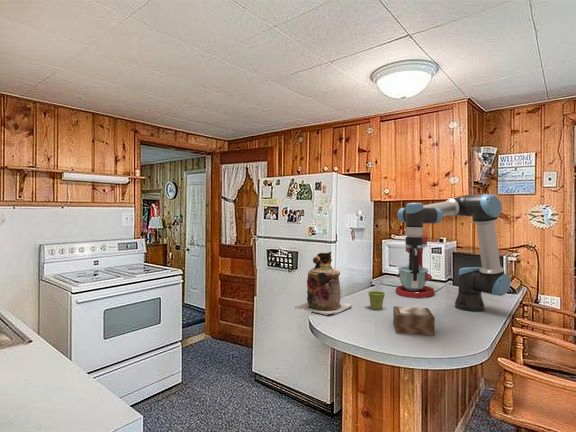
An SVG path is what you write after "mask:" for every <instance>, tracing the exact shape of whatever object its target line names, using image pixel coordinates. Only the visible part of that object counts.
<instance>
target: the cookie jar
mask: <svg viewBox="0 0 576 432" xmlns="http://www.w3.org/2000/svg"><path fill="white" fill-rule="evenodd" d="M332 261H333V259H332V251H328V252H319V253H317V255H316V256H314V257H313V258H312V263H313V264H315V266H314V267H313V268H311V269H310V270H308V273H307V279H306V288H307V290H306V294H307V297H306V302H305V303H303V304H301V305H296V306H294V309H298V310H304V311H307V312H310V313H316V314H320V315H324V316H328V315H336V314H339V313H341V312H343V311H346V310H349V309H352V307H353V303H344V302H341V297H342V295H341V293H342V291H341V286H340V277H339V276H341V271H340V270H338V269H335V268H333V267H332V266H331V263H332Z"/></svg>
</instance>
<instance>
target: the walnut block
mask: <svg viewBox="0 0 576 432" xmlns="http://www.w3.org/2000/svg"><path fill="white" fill-rule="evenodd" d="M392 311H393V313H392V315H393V317H392V321H393V322H392V323H393V327H394V329H395V333H396V334H406V335H407V334H408V335H420V336H433V337H434V336H435V320H436V317H435V316H434V314H433V313H432V311H431V310H430V308H429V307H417V306H416V307H413V306H398V305H397V306H396V305H393V310H392Z"/></svg>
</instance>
